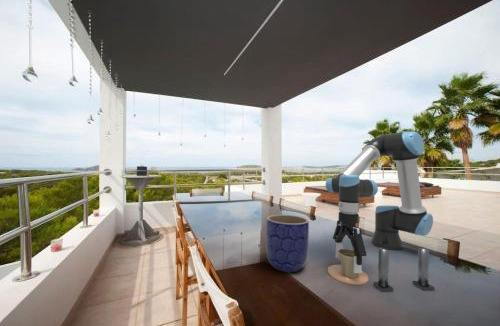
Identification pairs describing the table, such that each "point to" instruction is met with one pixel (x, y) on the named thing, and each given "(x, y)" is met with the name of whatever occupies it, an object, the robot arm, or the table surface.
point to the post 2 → (423, 270)
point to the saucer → (337, 275)
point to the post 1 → (383, 271)
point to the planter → (287, 241)
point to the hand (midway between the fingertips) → (347, 264)
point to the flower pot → (347, 262)
